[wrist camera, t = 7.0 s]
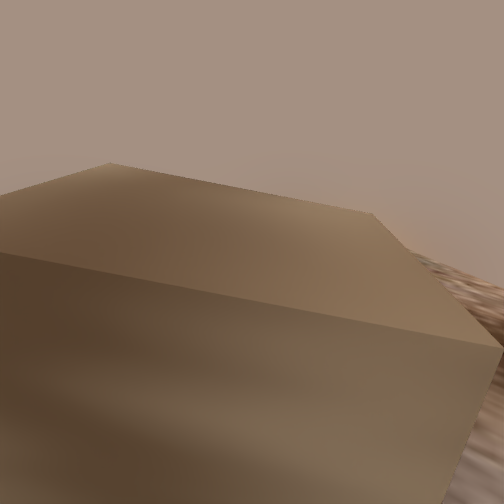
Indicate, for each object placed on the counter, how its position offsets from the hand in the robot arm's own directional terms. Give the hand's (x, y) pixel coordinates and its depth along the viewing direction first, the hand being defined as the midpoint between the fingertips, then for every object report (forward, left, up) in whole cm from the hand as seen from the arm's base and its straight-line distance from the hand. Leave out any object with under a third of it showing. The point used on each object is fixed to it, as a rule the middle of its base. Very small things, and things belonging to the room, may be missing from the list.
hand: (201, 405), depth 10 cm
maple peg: (+2, +2, -7) cm, 7 cm away
